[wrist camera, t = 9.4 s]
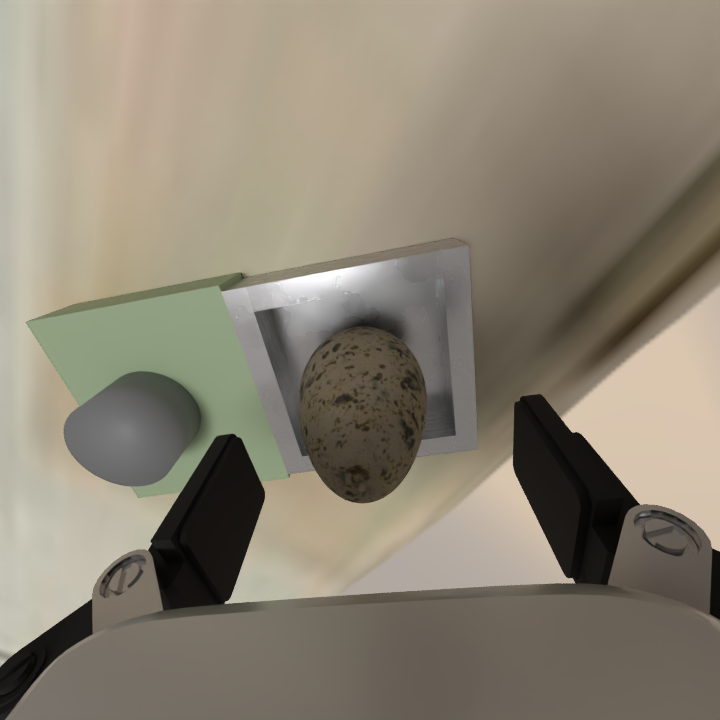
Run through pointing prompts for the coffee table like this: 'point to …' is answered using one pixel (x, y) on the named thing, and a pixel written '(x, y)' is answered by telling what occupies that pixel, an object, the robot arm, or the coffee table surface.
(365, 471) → the decorative egg
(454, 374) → the tray
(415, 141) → the coffee table surface
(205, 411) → the deck
